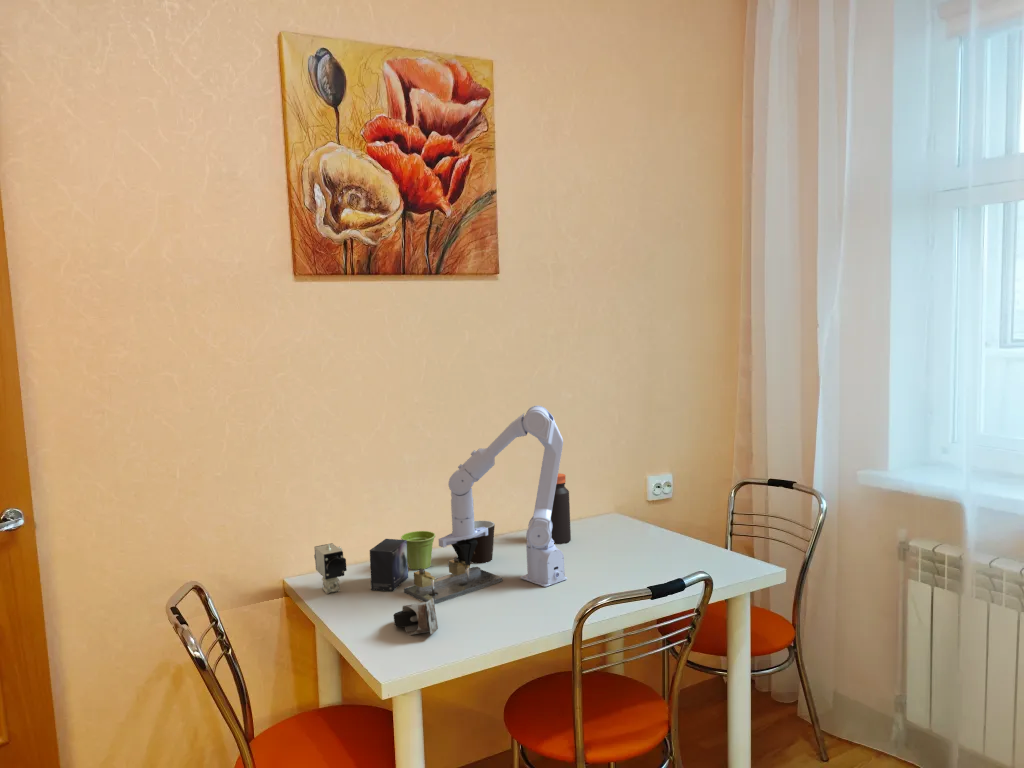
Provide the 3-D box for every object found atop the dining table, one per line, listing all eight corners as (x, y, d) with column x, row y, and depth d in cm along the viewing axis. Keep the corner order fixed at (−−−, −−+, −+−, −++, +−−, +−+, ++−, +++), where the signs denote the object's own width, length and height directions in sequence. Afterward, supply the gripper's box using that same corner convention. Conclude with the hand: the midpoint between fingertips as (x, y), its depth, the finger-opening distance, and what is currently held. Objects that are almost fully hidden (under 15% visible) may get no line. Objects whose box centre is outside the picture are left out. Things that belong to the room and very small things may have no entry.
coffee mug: (495, 564, 203) (493, 528, 202) (464, 565, 203) (462, 529, 203) (497, 551, 215) (495, 517, 214) (467, 552, 215) (465, 518, 214)
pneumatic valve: (328, 599, 182) (325, 552, 181) (315, 586, 192) (312, 540, 191) (350, 594, 184) (347, 547, 183) (336, 581, 195) (333, 537, 194)
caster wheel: (402, 631, 167) (444, 624, 166) (387, 641, 156) (433, 634, 155) (397, 600, 168) (440, 593, 167) (383, 609, 157) (428, 602, 156)
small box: (394, 592, 185) (392, 551, 184) (370, 591, 187) (367, 550, 186) (409, 577, 195) (407, 538, 195) (386, 576, 197) (384, 538, 196)
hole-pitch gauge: (502, 581, 190) (501, 558, 189) (431, 605, 175) (430, 580, 175) (474, 570, 199) (472, 548, 198) (404, 592, 184) (402, 569, 184)
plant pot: (443, 563, 206) (442, 532, 205) (423, 574, 198) (421, 542, 197) (416, 559, 210) (415, 529, 210) (395, 569, 202) (393, 538, 202)
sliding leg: (473, 579, 187) (472, 561, 187) (465, 582, 185) (464, 563, 185) (457, 573, 192) (456, 555, 192) (449, 576, 191) (448, 557, 190)
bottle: (574, 539, 223) (572, 473, 222) (564, 545, 217) (561, 478, 216) (555, 536, 227) (552, 472, 225) (544, 542, 221) (541, 476, 219)
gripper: (475, 508, 198) (478, 558, 199) (430, 519, 189) (433, 571, 190) (492, 512, 193) (494, 563, 194) (446, 524, 184) (449, 577, 185)
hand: (465, 568), depth 192 cm, fingers closed
